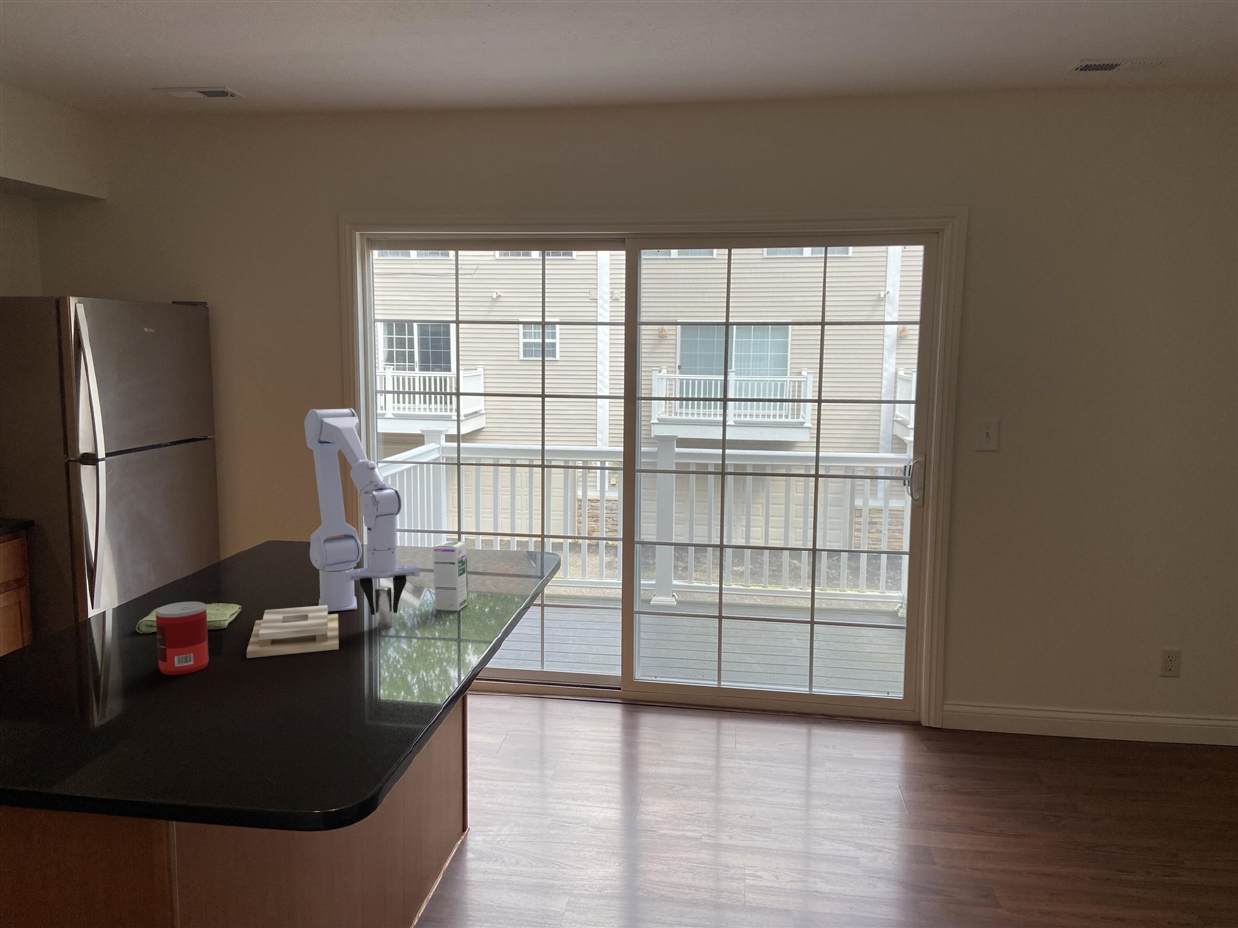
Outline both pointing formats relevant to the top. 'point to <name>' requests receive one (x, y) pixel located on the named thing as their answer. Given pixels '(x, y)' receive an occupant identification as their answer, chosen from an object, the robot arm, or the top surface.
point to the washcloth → (216, 617)
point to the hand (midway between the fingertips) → (383, 612)
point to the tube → (383, 607)
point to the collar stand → (294, 632)
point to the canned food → (182, 637)
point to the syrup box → (450, 575)
